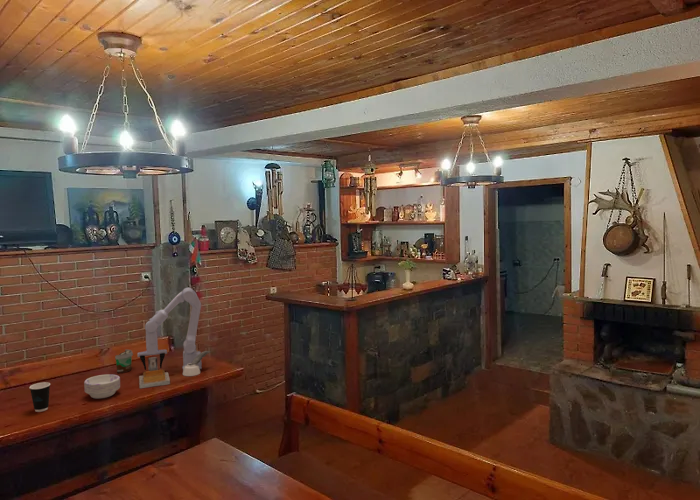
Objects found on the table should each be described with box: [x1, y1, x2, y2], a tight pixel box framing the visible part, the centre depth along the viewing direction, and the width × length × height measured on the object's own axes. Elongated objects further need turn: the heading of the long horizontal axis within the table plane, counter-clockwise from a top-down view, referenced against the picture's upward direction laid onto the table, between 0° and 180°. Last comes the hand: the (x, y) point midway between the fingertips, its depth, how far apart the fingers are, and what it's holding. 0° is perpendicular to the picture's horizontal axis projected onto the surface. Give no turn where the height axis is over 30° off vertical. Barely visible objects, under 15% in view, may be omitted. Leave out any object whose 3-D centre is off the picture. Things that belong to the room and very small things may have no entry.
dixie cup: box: [29, 381, 51, 413], centre depth 222 cm, size 8×8×11 cm
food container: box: [114, 348, 134, 374], centre depth 276 cm, size 12×6×10 cm, turn 179°
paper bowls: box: [83, 373, 121, 400], centre depth 239 cm, size 15×15×8 cm
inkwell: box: [182, 350, 211, 377], centre depth 273 cm, size 9×18×10 cm, turn 148°
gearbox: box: [138, 368, 171, 389], centre depth 257 cm, size 14×14×4 cm
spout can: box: [147, 356, 159, 371], centre depth 270 cm, size 4×7×8 cm
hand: (153, 368), depth 271 cm, fingers open, 7 cm apart
